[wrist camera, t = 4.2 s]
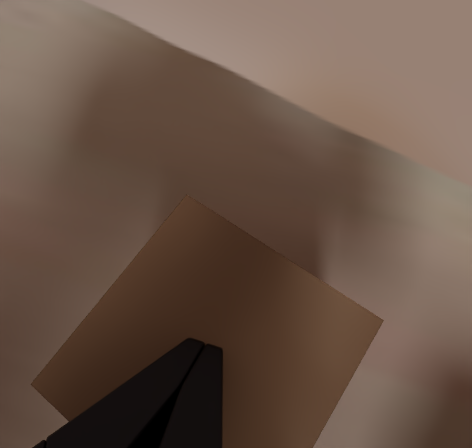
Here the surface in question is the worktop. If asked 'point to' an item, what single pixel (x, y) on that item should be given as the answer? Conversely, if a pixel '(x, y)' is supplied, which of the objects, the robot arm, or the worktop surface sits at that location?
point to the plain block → (220, 331)
